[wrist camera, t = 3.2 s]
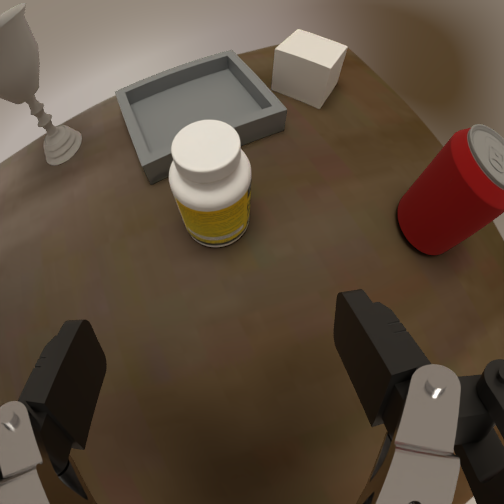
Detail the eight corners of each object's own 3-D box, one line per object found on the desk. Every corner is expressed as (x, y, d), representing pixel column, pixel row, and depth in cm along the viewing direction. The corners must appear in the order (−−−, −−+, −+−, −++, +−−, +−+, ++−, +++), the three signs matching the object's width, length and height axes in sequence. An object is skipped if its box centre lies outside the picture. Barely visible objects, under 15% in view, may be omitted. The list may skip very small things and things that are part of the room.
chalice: (36, 182, 27) (-55, 72, 10) (39, 140, 29) (-30, 36, 12) (91, 155, 28) (14, 20, 11) (89, 115, 30) (33, -5, 13)
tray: (151, 184, 27) (142, 166, 24) (122, 109, 30) (114, 91, 27) (283, 130, 29) (287, 109, 26) (232, 68, 32) (231, 49, 30)
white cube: (319, 110, 30) (330, 68, 25) (271, 90, 31) (274, 48, 26) (336, 83, 32) (347, 46, 27) (292, 66, 33) (298, 28, 27)
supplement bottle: (260, 234, 25) (268, 164, 16) (197, 258, 24) (170, 198, 15) (235, 182, 27) (232, 101, 18) (177, 203, 26) (149, 128, 17)
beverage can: (455, 216, 26) (526, 154, 15) (440, 271, 24) (529, 218, 13) (404, 182, 27) (464, 102, 16) (384, 234, 25) (457, 156, 14)
